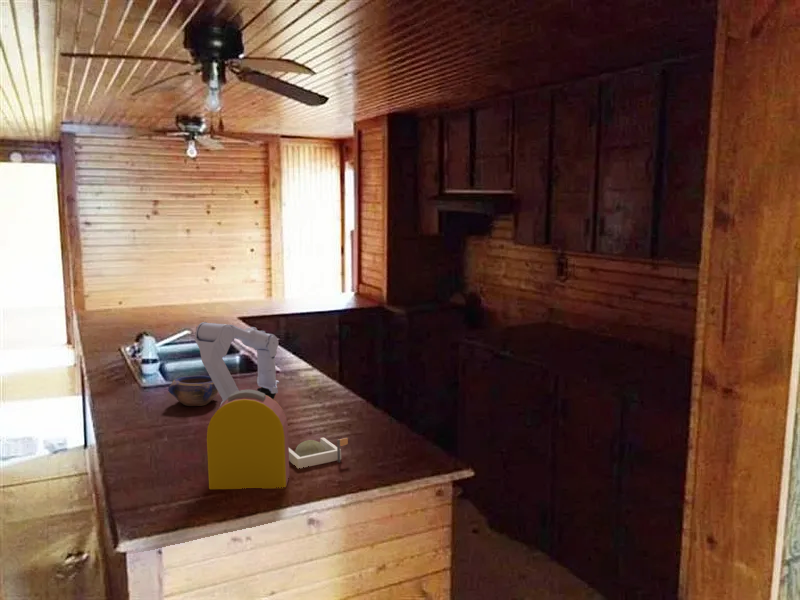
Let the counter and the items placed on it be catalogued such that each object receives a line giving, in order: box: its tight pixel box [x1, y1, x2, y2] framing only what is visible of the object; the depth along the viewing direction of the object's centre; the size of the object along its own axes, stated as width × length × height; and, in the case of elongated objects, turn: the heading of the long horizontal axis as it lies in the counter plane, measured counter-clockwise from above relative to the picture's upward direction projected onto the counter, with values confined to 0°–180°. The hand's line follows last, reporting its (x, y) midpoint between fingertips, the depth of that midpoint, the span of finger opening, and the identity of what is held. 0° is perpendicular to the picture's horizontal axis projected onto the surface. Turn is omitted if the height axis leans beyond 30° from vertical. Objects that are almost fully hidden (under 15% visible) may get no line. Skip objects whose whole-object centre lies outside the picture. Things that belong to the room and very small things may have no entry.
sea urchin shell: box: [294, 439, 326, 457], centre depth 207 cm, size 9×8×8 cm
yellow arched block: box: [206, 388, 290, 490], centre depth 187 cm, size 21×9×26 cm, turn 92°
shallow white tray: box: [289, 437, 349, 470], centre depth 206 cm, size 16×14×7 cm
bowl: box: [167, 375, 219, 407], centre depth 261 cm, size 18×18×10 cm
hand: (267, 409), depth 223 cm, fingers closed
